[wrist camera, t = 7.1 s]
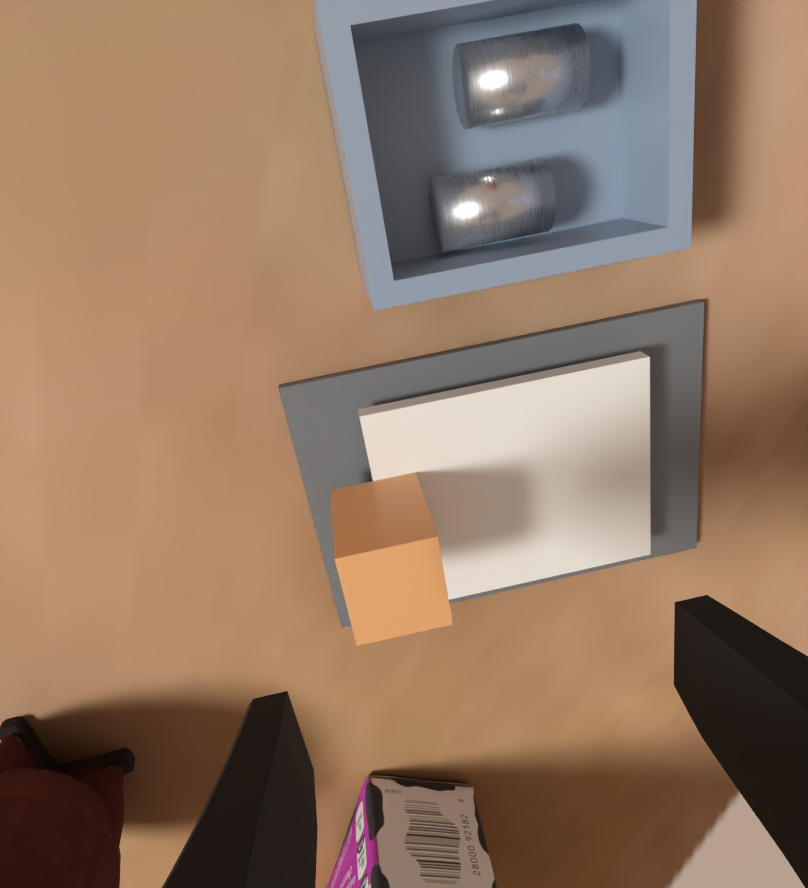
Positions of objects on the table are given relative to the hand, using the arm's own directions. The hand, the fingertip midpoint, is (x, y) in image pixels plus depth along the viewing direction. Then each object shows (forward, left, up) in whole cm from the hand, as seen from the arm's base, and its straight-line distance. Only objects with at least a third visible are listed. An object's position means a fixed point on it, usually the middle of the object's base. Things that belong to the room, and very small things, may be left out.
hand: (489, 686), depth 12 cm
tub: (-3, -9, -10) cm, 14 cm away
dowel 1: (-4, -10, -9) cm, 14 cm away
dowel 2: (-3, -7, -9) cm, 12 cm away
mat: (-3, +1, -10) cm, 10 cm away
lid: (-3, +1, -9) cm, 10 cm away
